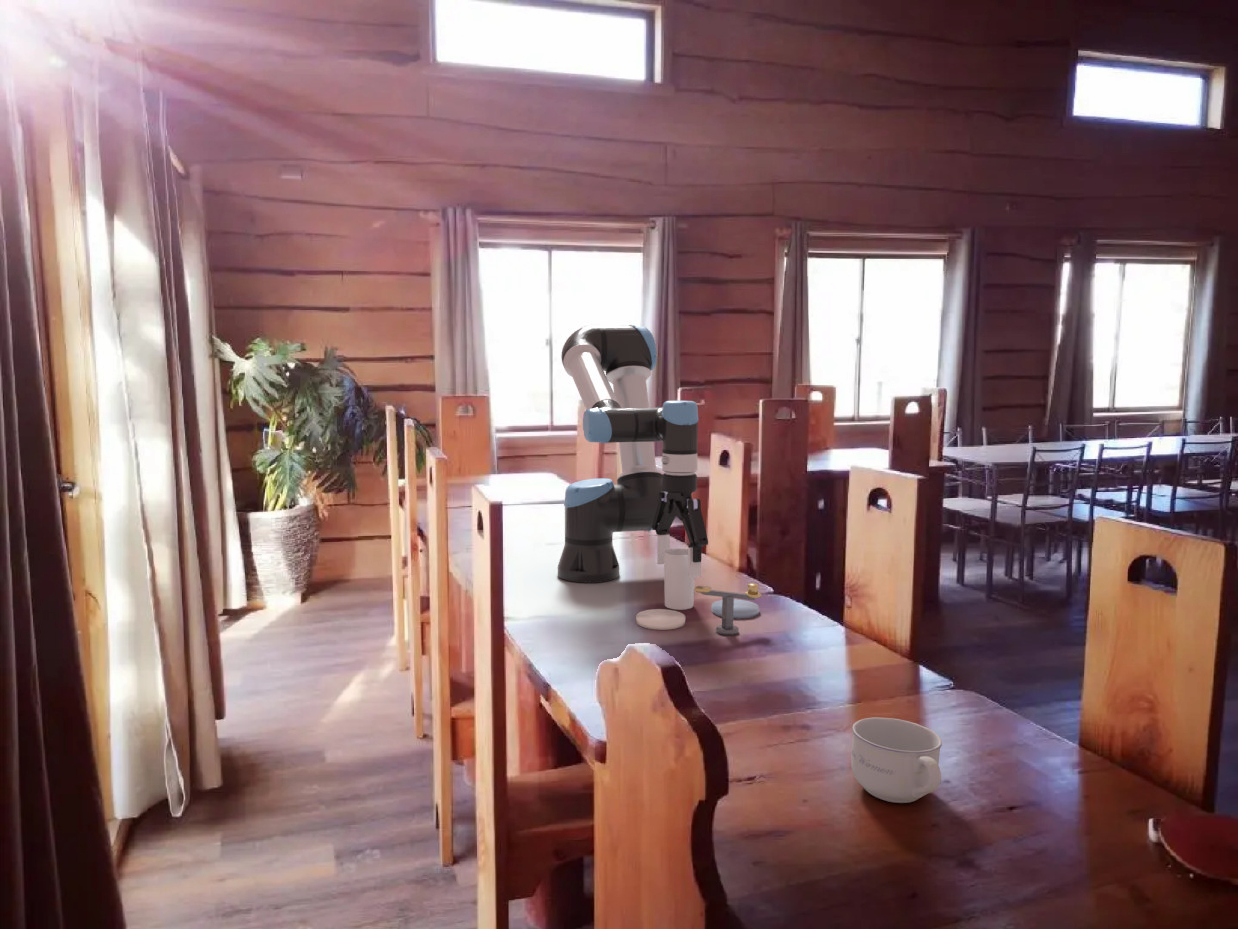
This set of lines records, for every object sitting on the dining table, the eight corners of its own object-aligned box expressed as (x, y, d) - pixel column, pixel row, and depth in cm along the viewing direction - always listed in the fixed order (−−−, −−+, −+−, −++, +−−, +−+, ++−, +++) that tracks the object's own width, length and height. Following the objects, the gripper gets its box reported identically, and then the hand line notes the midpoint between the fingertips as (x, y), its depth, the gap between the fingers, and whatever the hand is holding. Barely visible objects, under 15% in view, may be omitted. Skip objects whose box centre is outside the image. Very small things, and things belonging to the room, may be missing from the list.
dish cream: (627, 618, 184) (627, 612, 184) (670, 612, 188) (670, 606, 188) (650, 632, 175) (650, 626, 175) (694, 625, 179) (694, 620, 179)
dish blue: (702, 607, 191) (702, 602, 191) (741, 602, 196) (742, 597, 196) (727, 620, 182) (728, 615, 182) (768, 614, 187) (768, 609, 187)
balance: (689, 633, 174) (690, 586, 173) (752, 624, 181) (753, 578, 179) (700, 640, 170) (701, 592, 169) (764, 630, 177) (766, 583, 175)
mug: (698, 609, 190) (699, 554, 188) (667, 611, 189) (668, 556, 187) (686, 596, 200) (687, 544, 198) (657, 598, 199) (657, 545, 197)
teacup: (838, 772, 118) (840, 715, 117) (917, 769, 119) (920, 712, 118) (876, 829, 104) (880, 764, 103) (965, 825, 105) (970, 761, 104)
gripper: (637, 467, 200) (637, 560, 202) (694, 480, 178) (692, 584, 180) (666, 465, 203) (666, 557, 206) (725, 478, 181) (724, 580, 183)
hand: (678, 570), depth 193 cm, fingers open, 13 cm apart
